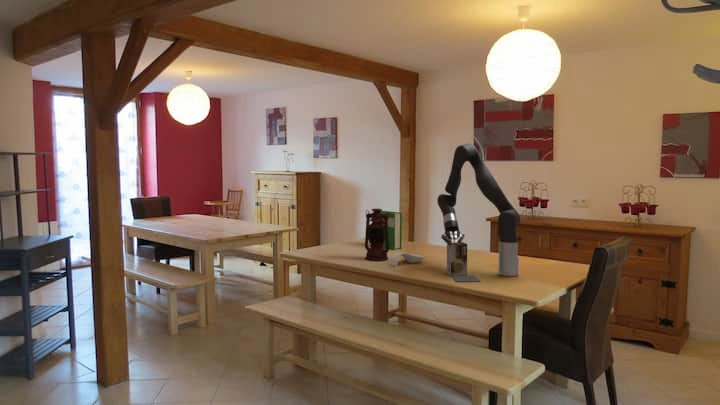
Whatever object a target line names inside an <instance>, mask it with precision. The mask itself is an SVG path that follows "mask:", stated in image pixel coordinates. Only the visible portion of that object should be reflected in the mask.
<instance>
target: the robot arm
mask: <svg viewBox="0 0 720 405" xmlns="http://www.w3.org/2000/svg"><path fill="white" fill-rule="evenodd" d="M466 162H469V164H470V165H471V167H472V169H473V170H474V175H475V183H476V186H477V187H478V189H479V190H480V192H481V194H483V196H484V197H485V198H486V199H487V200H488V201H489V202H490V203H492V205H494V207H495V208H496V209H497V210H498V212H499V215H498V218H497V236H498V266H497V267H498V269H497V271H498V275H500V276H504V277H515V276H519V260H520V259H519V256H518V252H519V250H518V246H519V244H518V243H519V242H518V241H519V237H518V235H517V230H516V228H517V227H518V226H519V225H520V223H521V216H520V214H519V212H518V211H517V210H516V209H515V208H514V206H513V205H512V204H511V202H510V201H509V200H508V198H507V196H506V195H505V193H504V192H503V190H502V188H501V187H500V186H499V184H498V182H497V181H496V179H495V177H494V176H493V174H492V173H491V171H490V169H488V167H487V165H486V164H485V162H484V160H483V158H482V155H480V152H479V150H478V149H477V147H476V145H474V144H472V143H463V144H460V145H457V147H456V148H455V151H454V154H453V158H452V164H451V169H450V174H449V175H448V176H449V177H448V180H447V183H446V184H445V187H444V191H445V193H447V194H445V193H441V194H439V195H438V197H437V199H436V201H437V205H438V208H439V209H440V211H441V213H442V218H443V221H442V222H443V227H444V233H442V234H441V237H440V238H441V239H442V240H443V242H445V243H446V244H447V243H456V242H463V240H464V239H465V233H461V231H460V229H459V222H458V219H457V215H456V214H457V213H456V210H455V208H454V207H456V204H457V198H458V196H457V194H458V191H459V188H460V185H461V182H462V168H463V166H464V165H465V163H466Z"/></svg>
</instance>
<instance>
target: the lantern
mask: <svg viewBox="0 0 720 405" xmlns="http://www.w3.org/2000/svg"><path fill="white" fill-rule="evenodd" d="M371 211H372V212H371V213H370V211H369V210H367V209H366V210H365V212H367V213H365V218H366V222H365V237H364V247H365V250H366V253H365V254H366V255H365V258H364V260H366V261H367V262H386V261H389V257H388V252H389V251H390V249H389V236H388V219H389V212H387V213H388V214H387V213H386V214H387V215H383V214H382V213H381V212H380V211H383V209H382V208H371ZM382 218H383V219H384V220H383V219H382ZM370 222H371V223H370ZM385 242H386V249H384V248H383V243H385ZM369 246H370V247H369Z"/></svg>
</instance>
